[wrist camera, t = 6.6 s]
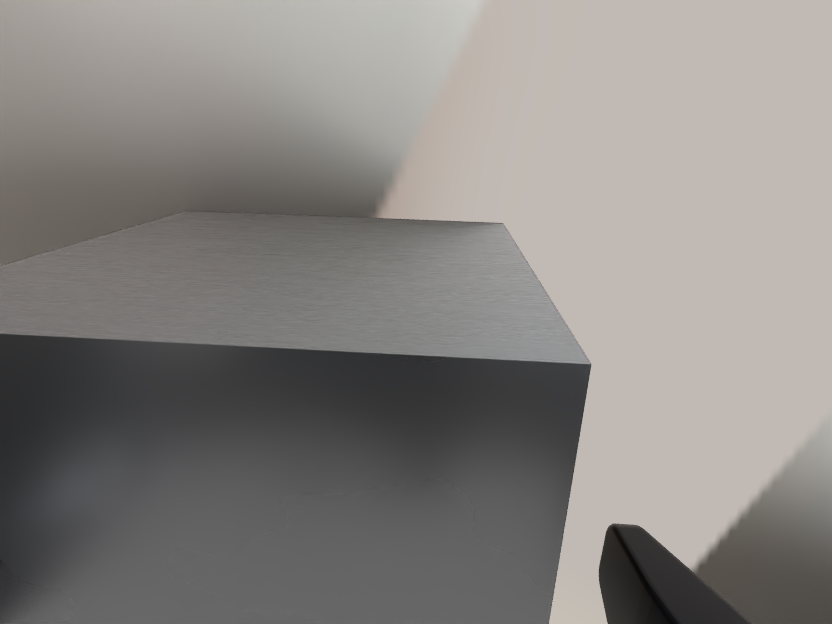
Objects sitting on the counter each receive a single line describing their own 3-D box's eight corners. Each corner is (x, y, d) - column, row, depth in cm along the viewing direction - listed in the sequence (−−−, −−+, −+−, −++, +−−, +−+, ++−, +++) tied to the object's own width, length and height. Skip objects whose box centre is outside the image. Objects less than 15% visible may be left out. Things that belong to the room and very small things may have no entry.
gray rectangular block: (503, 223, 9) (591, 364, 4) (473, 557, 12) (496, 937, 6) (186, 210, 10) (-196, 323, 4) (227, 540, 12) (39, 890, 7)
